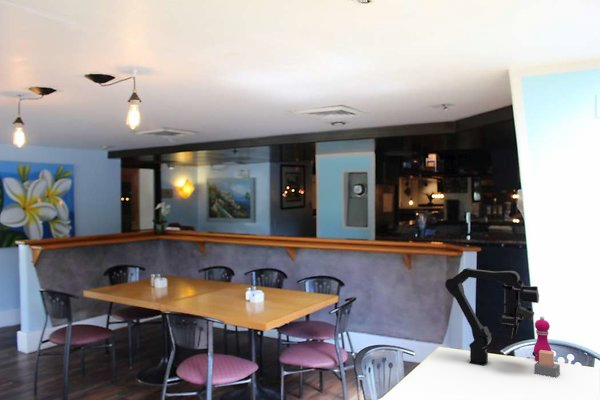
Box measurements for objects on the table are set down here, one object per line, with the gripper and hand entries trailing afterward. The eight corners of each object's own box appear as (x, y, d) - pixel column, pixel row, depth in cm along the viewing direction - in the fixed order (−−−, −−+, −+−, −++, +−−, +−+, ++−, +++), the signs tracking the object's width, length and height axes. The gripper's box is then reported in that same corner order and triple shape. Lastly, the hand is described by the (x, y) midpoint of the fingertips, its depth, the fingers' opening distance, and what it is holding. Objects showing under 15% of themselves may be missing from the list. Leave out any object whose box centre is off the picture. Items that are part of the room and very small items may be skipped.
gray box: (534, 374, 193) (534, 364, 194) (538, 370, 199) (538, 360, 199) (556, 378, 188) (556, 368, 189) (559, 374, 194) (559, 364, 194)
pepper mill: (555, 363, 208) (554, 317, 209) (538, 363, 208) (537, 317, 209) (546, 359, 215) (546, 314, 216) (530, 358, 215) (530, 314, 216)
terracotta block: (539, 364, 193) (538, 352, 194) (540, 361, 198) (540, 349, 198) (552, 366, 191) (552, 354, 191) (553, 363, 195) (553, 351, 195)
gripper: (528, 305, 190) (529, 344, 189) (535, 299, 205) (536, 336, 204) (499, 302, 196) (499, 340, 195) (508, 297, 211) (508, 332, 210)
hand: (512, 337), depth 201 cm, fingers open, 9 cm apart
